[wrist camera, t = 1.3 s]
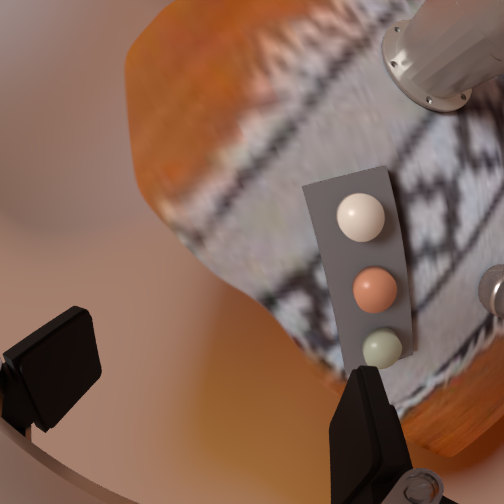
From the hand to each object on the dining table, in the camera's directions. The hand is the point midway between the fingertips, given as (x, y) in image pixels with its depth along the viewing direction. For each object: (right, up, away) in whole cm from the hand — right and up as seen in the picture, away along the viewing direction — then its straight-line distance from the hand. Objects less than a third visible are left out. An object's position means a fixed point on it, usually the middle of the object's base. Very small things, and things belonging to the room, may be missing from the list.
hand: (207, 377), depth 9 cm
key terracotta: (+14, +1, +20) cm, 24 cm away
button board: (+14, +1, +22) cm, 26 cm away
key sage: (+16, -6, +20) cm, 27 cm away
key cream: (+12, +8, +18) cm, 22 cm away
